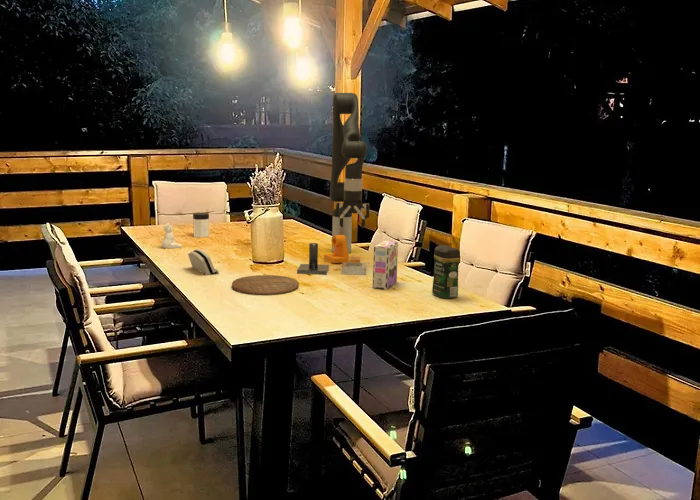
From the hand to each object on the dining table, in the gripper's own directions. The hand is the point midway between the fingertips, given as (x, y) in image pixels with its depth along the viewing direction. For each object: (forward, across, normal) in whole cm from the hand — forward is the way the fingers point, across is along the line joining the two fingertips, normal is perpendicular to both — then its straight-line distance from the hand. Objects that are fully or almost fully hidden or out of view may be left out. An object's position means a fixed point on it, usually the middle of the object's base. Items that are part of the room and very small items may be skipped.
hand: (352, 227), depth 287 cm
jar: (+18, +84, -62) cm, 106 cm away
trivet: (+18, +30, +38) cm, 51 cm away
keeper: (+18, +15, +8) cm, 25 cm away
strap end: (+18, -2, +4) cm, 18 cm away
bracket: (+18, +8, -12) cm, 23 cm away
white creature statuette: (+18, +89, -29) cm, 95 cm away
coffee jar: (+18, -37, +41) cm, 58 cm away
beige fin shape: (+18, +60, +16) cm, 65 cm away
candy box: (+18, -15, +28) cm, 36 cm away
